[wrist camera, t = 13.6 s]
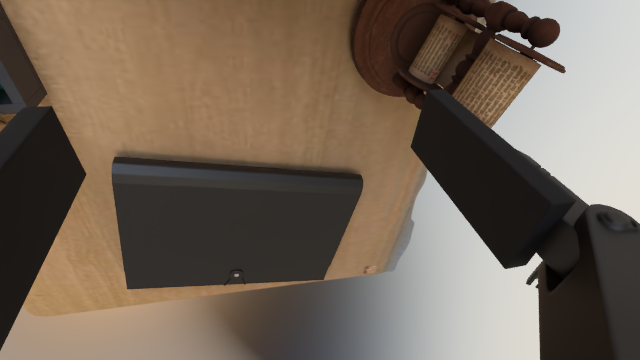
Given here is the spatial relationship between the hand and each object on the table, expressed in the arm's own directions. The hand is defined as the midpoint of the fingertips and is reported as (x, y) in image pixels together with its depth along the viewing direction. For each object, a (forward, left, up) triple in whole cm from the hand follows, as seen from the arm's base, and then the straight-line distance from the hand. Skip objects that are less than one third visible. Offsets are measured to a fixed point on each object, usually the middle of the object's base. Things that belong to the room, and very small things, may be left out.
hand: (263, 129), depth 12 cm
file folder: (+33, -3, -27) cm, 43 cm away
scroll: (+4, +19, -27) cm, 33 cm away
